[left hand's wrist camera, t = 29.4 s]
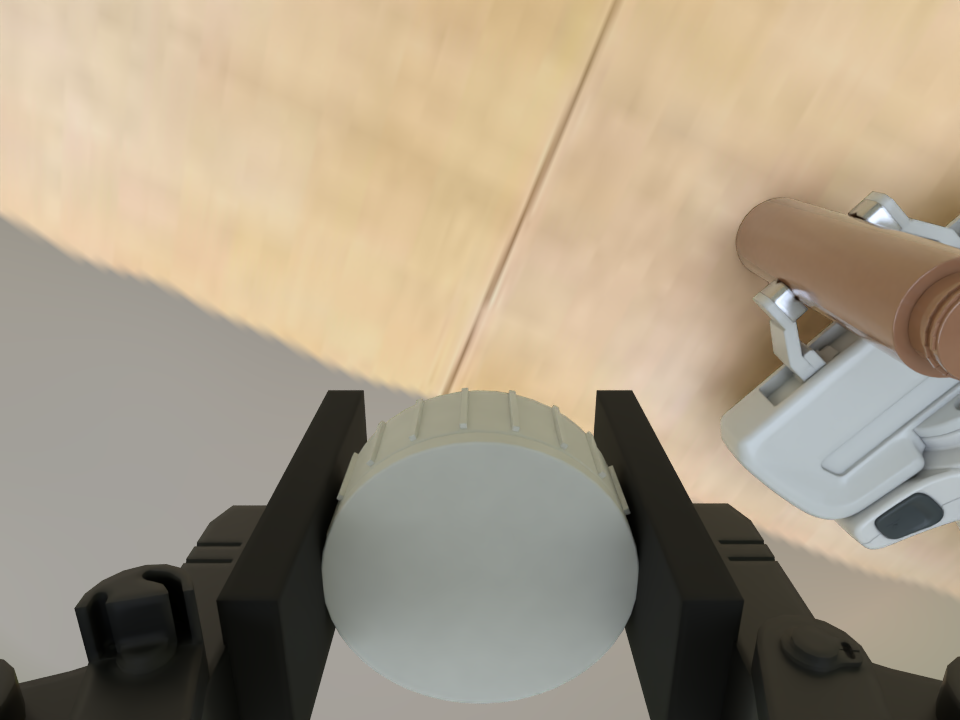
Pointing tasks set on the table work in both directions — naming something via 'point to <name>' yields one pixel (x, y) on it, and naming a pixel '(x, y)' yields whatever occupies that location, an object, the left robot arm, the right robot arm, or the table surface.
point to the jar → (862, 279)
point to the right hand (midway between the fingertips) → (815, 248)
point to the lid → (480, 549)
